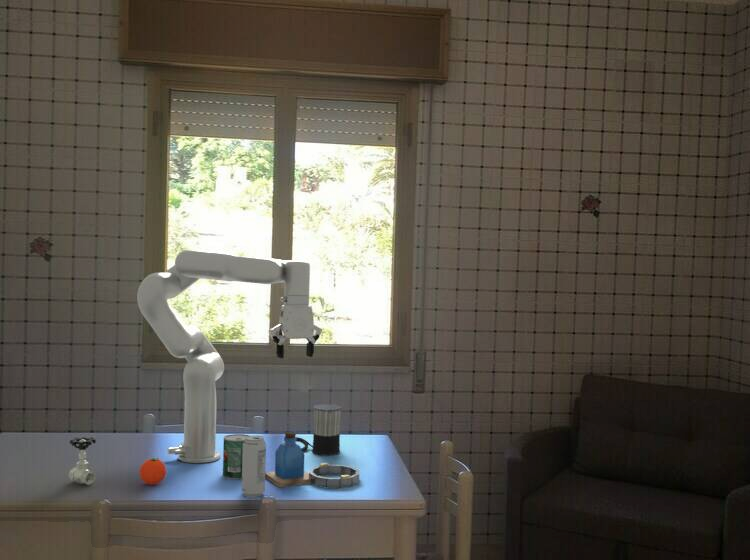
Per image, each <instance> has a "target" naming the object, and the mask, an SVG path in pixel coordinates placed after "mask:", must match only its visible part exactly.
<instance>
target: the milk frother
mask: <svg viewBox="0 0 750 560" xmlns="http://www.w3.org/2000/svg"><path fill="white" fill-rule="evenodd" d="M312 408H313V434H312V435H313V440H312V444H311V443H309V441H308V440H305V439H304V438H302V437H297V436H295V437H296V441H295V443H296V442H297V443H301V444H303V445H304V446H303V447H300V448H301V450H302V451H303V453H304V452H306V451H307V450H308V448H309V446H310V447H312V449H311V452H312V454H316V455H319V456H333V455H338V454H340V453H341V450H340V449H341V447H340V446H341V445H340V444H341V443H340V439H341V438H340V437H341V436H340V435H341V410H342V406H340V405H337V404H332V403H331V404H330V403H326V404H325V403H322V404H315V405H314V406H313V407H312Z"/></svg>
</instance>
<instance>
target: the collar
mask: <svg viewBox="0 0 750 560" xmlns="http://www.w3.org/2000/svg"><path fill="white" fill-rule="evenodd" d="M308 474H309V478H311V483H310V484H311V485H313V484H314V485H313V486H315V485H317V487H320V486H321V487H320V488H324V487H326V488H327V487H330V488H329V489H345V488H350V487H353V486H356V485H358V484H360V470H359V469H357V468H356V467H353V466H348V465H344V464H329V463H328V462H321V463H319V465H317V466H314V467H312V468H310V469H309V472H308ZM319 475H320V476H319ZM327 475H340V476H339V477H325V476H327Z"/></svg>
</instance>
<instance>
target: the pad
mask: <svg viewBox="0 0 750 560" xmlns="http://www.w3.org/2000/svg"><path fill="white" fill-rule="evenodd" d="M265 480H268V481H269V482H271V483H272V484H274V485H275V486H276V487H278V488H279V487H280V488H285V487H284V486H287V487H293V486H292V485H294V486H298V485H299V484H301V485H307V483H308V484H312V483H311V478H309V472H306V471H305V470H304V477H300V478H291V479H282V478H280V477H279V476H278V475H276V474H275V470H274V471H267V472H266V471H265Z"/></svg>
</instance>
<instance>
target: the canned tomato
mask: <svg viewBox="0 0 750 560" xmlns="http://www.w3.org/2000/svg"><path fill="white" fill-rule="evenodd" d="M247 436H250V435H249V434H243V433H235V434H227V435H224V437H223V449H222V450H223V452H222V453H223V455H222V457H223V458H222V477H223V478H225V479H227V480H242V457H243V443H244V441H245V437H247Z"/></svg>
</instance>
